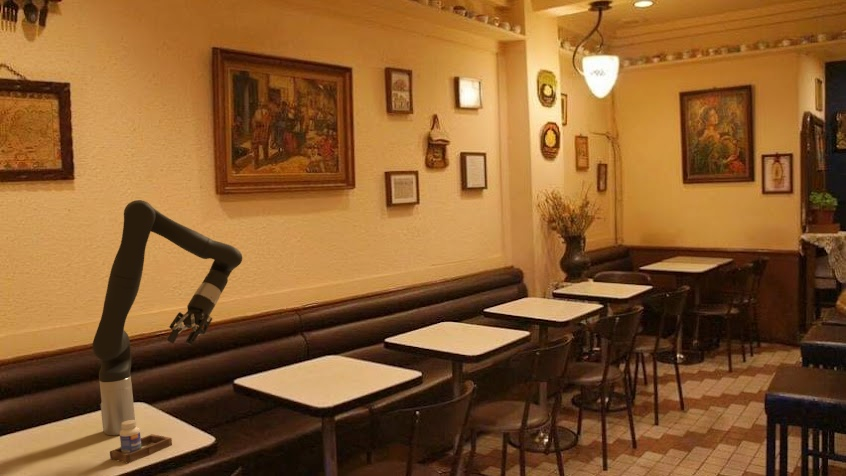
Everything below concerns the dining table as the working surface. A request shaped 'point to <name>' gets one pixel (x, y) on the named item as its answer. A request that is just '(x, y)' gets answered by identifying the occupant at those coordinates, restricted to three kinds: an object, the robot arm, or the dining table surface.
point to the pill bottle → (130, 437)
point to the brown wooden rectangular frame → (159, 444)
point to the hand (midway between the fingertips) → (179, 343)
